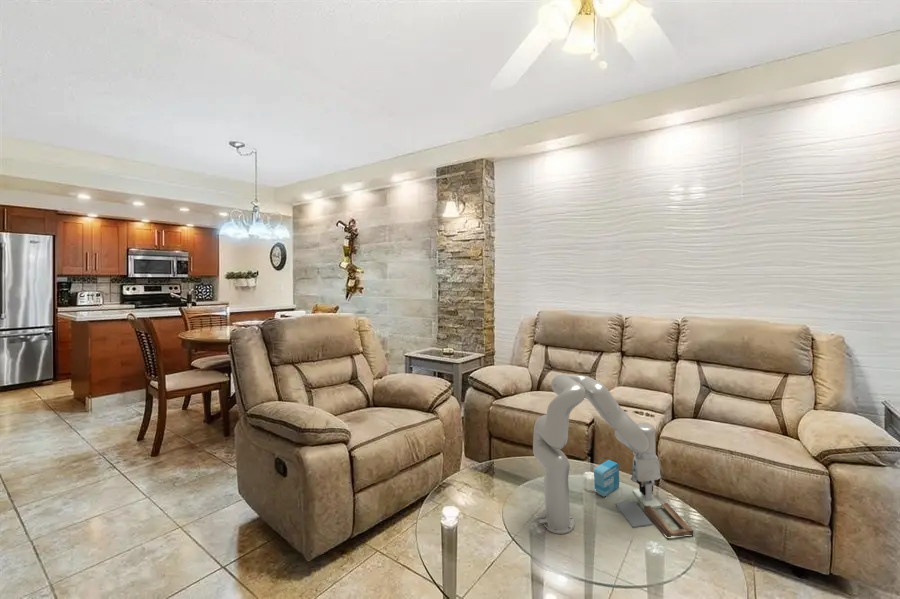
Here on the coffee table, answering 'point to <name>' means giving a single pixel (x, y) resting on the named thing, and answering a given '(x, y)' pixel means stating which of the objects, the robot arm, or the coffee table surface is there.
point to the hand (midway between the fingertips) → (646, 492)
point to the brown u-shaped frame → (663, 526)
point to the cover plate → (647, 503)
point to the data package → (606, 477)
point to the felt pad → (634, 514)
